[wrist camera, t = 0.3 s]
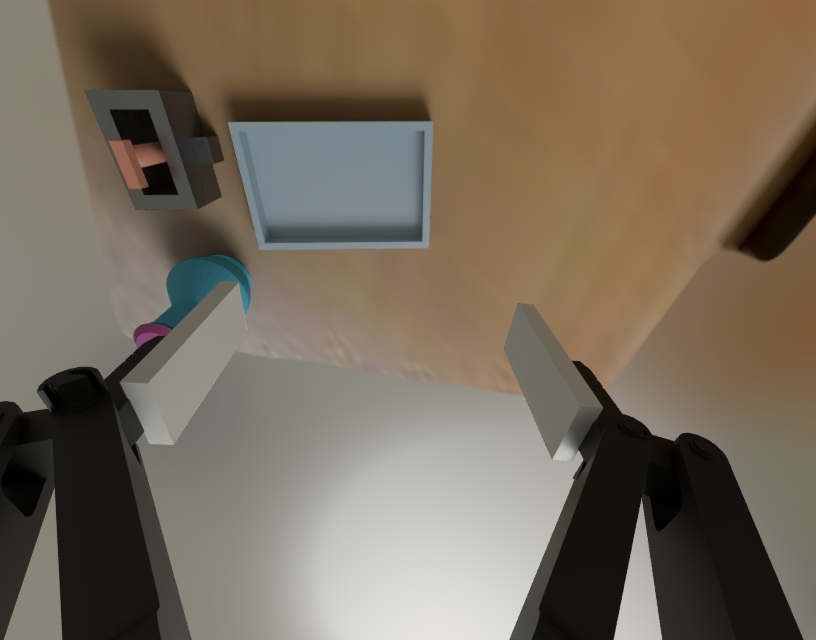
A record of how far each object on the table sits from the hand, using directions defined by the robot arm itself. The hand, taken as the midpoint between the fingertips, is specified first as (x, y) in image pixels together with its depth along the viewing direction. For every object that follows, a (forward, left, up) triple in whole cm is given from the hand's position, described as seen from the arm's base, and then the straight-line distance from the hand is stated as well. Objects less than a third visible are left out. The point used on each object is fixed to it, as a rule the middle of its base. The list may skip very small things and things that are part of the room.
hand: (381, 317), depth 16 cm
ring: (-5, -23, -27) cm, 35 cm away
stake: (-5, -23, -27) cm, 35 cm away
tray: (-1, -6, -27) cm, 28 cm away
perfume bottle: (+11, -22, -27) cm, 37 cm away
